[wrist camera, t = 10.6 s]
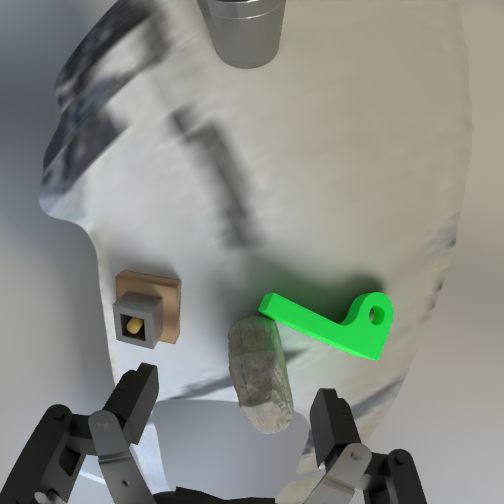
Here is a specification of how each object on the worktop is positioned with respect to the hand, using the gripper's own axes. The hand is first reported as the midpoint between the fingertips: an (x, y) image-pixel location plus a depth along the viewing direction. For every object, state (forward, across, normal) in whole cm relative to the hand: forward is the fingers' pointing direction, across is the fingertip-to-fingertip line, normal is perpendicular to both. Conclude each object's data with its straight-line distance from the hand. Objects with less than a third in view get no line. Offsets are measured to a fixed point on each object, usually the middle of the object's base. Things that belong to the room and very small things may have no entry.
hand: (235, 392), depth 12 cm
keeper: (+28, +15, +12) cm, 34 cm away
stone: (+28, -4, +19) cm, 34 cm away
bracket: (+29, -13, +7) cm, 32 cm away
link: (+25, +15, +12) cm, 31 cm away
